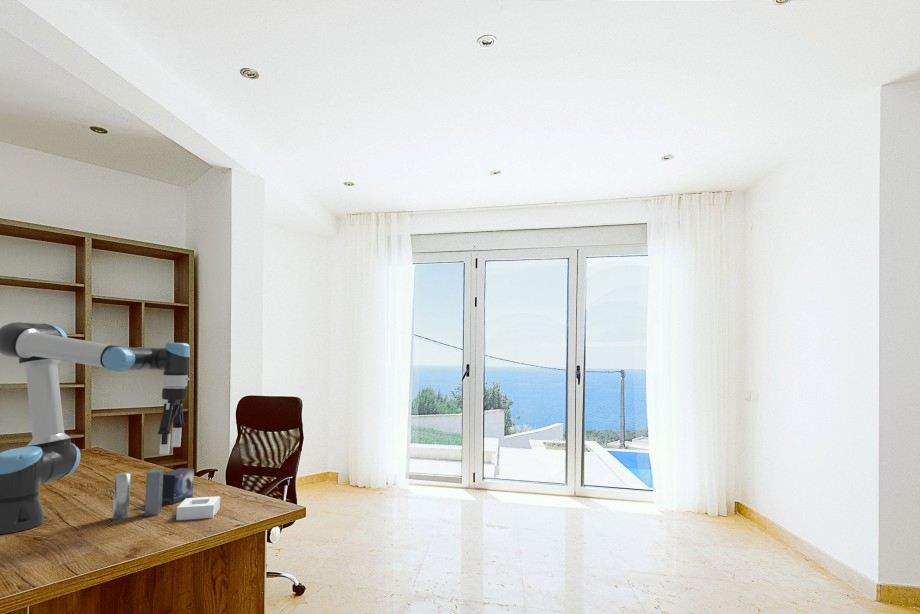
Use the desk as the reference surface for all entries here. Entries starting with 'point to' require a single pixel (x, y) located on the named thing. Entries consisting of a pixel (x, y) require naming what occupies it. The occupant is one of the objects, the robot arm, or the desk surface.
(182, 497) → the small box
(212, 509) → the socket block
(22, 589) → the desk surface
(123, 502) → the round bit
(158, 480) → the square bit
